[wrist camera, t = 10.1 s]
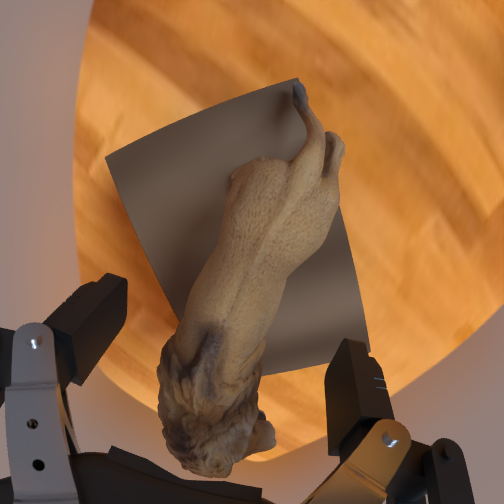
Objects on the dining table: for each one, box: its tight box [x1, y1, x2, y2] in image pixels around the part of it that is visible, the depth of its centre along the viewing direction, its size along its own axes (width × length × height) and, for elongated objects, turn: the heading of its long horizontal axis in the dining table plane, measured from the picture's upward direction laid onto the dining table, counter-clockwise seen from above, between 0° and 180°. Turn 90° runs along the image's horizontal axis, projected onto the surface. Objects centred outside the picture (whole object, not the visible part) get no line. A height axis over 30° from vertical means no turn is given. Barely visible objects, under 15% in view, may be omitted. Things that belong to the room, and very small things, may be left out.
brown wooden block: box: [105, 78, 371, 376], centre depth 19 cm, size 15×10×8 cm, turn 19°
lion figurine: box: [157, 82, 345, 478], centre depth 11 cm, size 15×5×9 cm, turn 169°
